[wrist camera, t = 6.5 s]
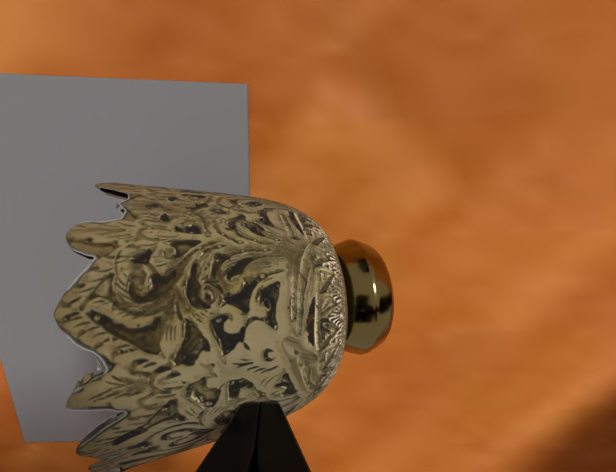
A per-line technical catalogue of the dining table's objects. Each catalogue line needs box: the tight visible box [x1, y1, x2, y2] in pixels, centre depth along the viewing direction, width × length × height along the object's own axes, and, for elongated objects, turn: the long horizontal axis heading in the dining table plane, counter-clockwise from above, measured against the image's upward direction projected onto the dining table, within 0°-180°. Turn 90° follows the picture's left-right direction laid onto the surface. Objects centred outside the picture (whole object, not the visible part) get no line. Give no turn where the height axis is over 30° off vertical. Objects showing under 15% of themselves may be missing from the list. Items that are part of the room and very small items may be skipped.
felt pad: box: [0, 74, 250, 443], centre depth 14 cm, size 10×15×1 cm, turn 178°
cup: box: [53, 182, 394, 472], centre depth 11 cm, size 8×7×8 cm
